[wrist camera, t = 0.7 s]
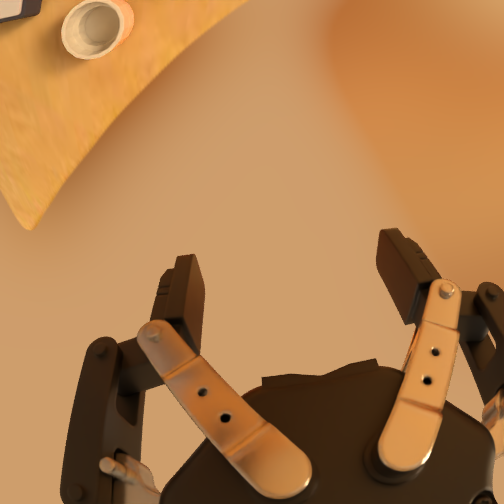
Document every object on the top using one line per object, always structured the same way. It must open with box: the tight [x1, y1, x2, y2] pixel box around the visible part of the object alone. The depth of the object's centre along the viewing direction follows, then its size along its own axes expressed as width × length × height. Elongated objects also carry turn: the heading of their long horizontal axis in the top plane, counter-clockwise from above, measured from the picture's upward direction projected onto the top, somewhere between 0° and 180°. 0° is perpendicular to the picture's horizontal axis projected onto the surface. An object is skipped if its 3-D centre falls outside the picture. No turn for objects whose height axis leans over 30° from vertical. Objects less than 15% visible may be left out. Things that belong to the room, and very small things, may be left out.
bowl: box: [61, 0, 134, 60], centre depth 19 cm, size 6×6×4 cm
